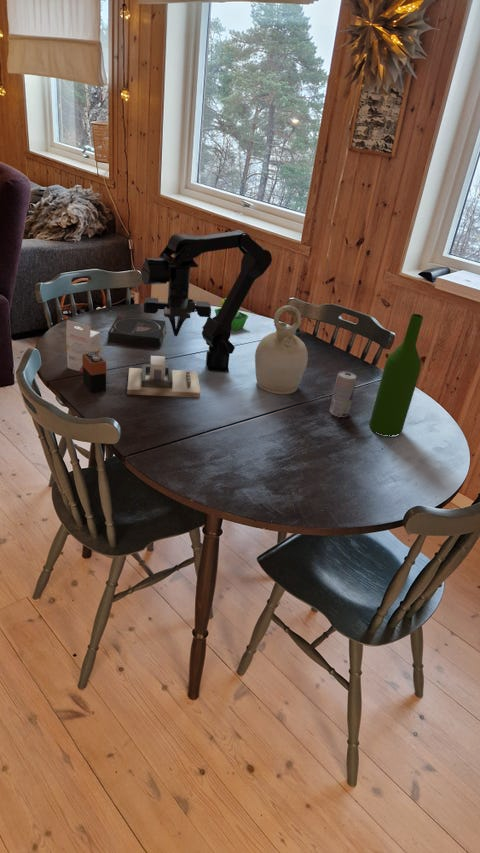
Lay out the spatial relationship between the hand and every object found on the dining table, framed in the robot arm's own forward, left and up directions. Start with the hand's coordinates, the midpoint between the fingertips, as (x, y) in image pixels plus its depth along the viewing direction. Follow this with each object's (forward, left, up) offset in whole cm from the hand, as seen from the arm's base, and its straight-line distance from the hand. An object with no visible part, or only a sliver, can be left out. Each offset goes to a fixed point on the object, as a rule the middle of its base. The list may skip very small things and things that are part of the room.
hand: (175, 335), depth 163 cm
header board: (+3, +8, -12) cm, 15 cm away
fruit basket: (-22, -44, -12) cm, 51 cm away
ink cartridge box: (+26, 0, -12) cm, 29 cm away
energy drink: (-46, +21, -12) cm, 52 cm away
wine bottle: (-57, +29, -12) cm, 65 cm away
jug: (-31, +5, -12) cm, 34 cm away
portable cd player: (+11, -28, -13) cm, 33 cm away
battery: (+22, +12, -12) cm, 28 cm away
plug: (+5, +8, -10) cm, 14 cm away
